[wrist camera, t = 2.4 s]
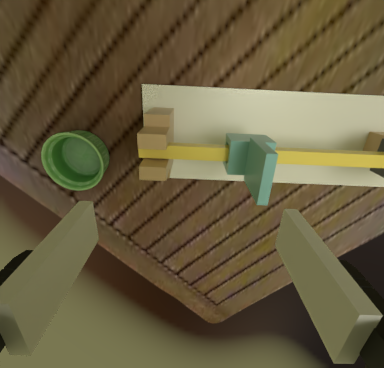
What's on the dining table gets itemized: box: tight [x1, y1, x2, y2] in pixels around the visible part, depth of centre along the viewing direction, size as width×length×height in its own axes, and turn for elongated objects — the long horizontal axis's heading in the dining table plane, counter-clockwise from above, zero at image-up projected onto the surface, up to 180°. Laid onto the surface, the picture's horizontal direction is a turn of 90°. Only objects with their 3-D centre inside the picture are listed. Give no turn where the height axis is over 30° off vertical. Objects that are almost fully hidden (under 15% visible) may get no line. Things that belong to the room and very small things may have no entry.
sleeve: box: [223, 133, 278, 205], centre depth 25 cm, size 5×5×10 cm
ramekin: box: [41, 130, 109, 190], centre depth 35 cm, size 9×9×4 cm
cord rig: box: [137, 84, 384, 187], centre depth 30 cm, size 14×42×12 cm, turn 87°
